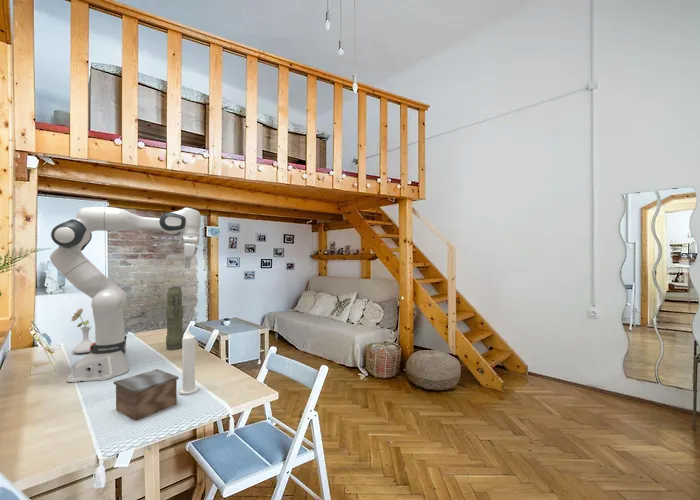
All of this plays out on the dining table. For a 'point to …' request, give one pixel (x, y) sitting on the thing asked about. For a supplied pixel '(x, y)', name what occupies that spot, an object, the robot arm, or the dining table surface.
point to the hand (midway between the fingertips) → (187, 268)
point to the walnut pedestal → (146, 393)
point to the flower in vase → (85, 344)
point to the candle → (188, 364)
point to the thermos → (174, 318)
